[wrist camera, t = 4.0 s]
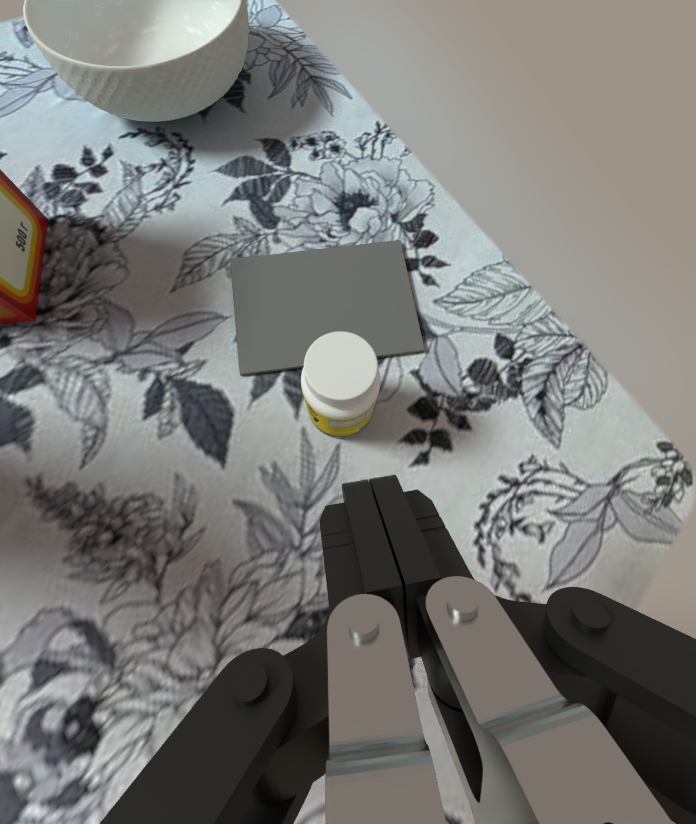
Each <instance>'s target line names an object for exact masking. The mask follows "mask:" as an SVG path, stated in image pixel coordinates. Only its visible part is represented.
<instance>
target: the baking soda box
mask: <svg viewBox="0 0 696 824" xmlns="http://www.w3.org/2000/svg"><path fill="white" fill-rule="evenodd" d="M47 224H48V219H47V218H46V217H45V216H44V215H43V214H42V213H41V212H40V210H39V209H38V208H37V207H36V206H35V205H34V204H33V203H32V202H31V201H30V200H29V199H28V198H27V197H26V196H25V195H24V194H23V193H22V192H21V191H20V190H19V189H18V188H17V186H16V185H15V184H14V183H13V182H12V181H11V180H10V179H9V178H8V177H7V176H6V175H5V174H4V173H3V172H2V171H1V170H0V324H1V323H14V322H26V321H35V320H36V312H37V304H38V296H39V288H40V280H41V272H42V264H43V256H44V248H45V240H46V232H47Z"/></svg>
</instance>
